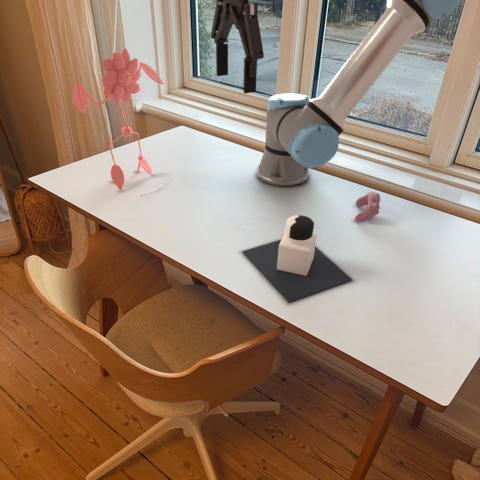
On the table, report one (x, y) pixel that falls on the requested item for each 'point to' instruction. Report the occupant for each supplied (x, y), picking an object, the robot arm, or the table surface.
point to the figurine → (119, 98)
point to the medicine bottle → (297, 246)
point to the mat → (295, 285)
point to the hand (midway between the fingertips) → (235, 83)
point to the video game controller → (368, 206)
